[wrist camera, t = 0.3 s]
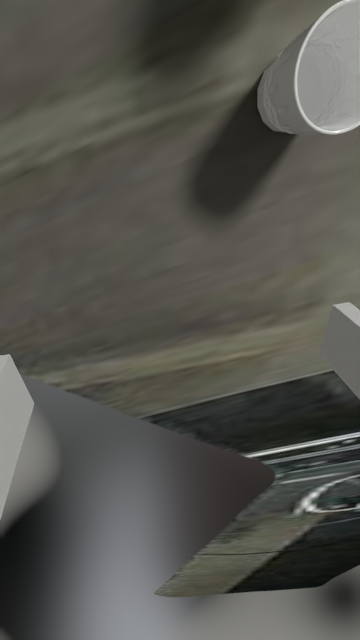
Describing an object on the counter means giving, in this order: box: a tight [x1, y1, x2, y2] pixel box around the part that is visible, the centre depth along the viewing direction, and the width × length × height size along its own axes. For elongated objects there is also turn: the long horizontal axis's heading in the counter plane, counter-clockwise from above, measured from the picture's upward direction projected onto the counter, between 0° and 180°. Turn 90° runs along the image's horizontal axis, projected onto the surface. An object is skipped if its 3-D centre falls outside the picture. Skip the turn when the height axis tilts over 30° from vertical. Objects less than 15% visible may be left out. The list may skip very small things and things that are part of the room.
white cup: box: [257, 0, 360, 135], centre depth 26 cm, size 8×8×10 cm
